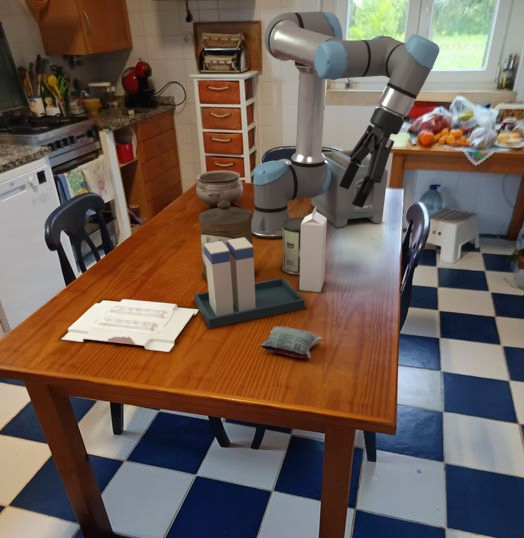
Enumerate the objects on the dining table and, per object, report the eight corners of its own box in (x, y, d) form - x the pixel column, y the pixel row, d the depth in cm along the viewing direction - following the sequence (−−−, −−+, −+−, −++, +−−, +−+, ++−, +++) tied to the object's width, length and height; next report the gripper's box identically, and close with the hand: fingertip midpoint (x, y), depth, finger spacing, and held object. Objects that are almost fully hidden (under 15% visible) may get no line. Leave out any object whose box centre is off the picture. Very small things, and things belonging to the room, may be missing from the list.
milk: (299, 290, 135) (300, 212, 123) (303, 281, 140) (304, 205, 127) (321, 292, 133) (324, 213, 121) (324, 282, 138) (327, 205, 126)
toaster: (339, 232, 172) (343, 172, 161) (310, 204, 199) (311, 152, 188) (387, 226, 176) (394, 167, 164) (352, 200, 203) (356, 148, 191)
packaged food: (274, 335, 115) (274, 317, 113) (322, 345, 111) (323, 327, 108) (259, 354, 109) (258, 336, 106) (309, 366, 105) (310, 347, 102)
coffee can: (317, 262, 151) (319, 217, 143) (314, 276, 142) (315, 229, 134) (285, 260, 152) (285, 216, 145) (279, 274, 144) (279, 228, 136)
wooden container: (195, 281, 141) (187, 206, 129) (217, 262, 152) (211, 191, 140) (243, 288, 136) (239, 211, 124) (261, 268, 148) (259, 195, 136)
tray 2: (102, 300, 133) (100, 288, 131) (199, 312, 128) (198, 300, 126) (60, 339, 116) (56, 326, 114) (170, 355, 111) (168, 342, 109)
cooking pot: (237, 216, 189) (235, 184, 183) (190, 215, 192) (187, 183, 185) (248, 197, 210) (247, 168, 203) (205, 196, 213) (203, 168, 206)
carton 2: (231, 300, 129) (227, 239, 120) (247, 297, 131) (244, 237, 121) (239, 311, 124) (235, 249, 115) (255, 308, 125) (253, 246, 116)
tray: (195, 302, 130) (194, 294, 129) (282, 285, 137) (282, 277, 136) (209, 328, 119) (208, 319, 117) (304, 308, 126) (304, 299, 125)
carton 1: (209, 305, 128) (203, 243, 118) (226, 301, 129) (221, 240, 120) (216, 316, 122) (210, 253, 113) (233, 313, 124) (229, 250, 114)
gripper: (424, 130, 105) (376, 219, 116) (388, 107, 125) (350, 185, 136) (395, 117, 103) (349, 209, 114) (363, 96, 123) (326, 176, 134)
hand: (349, 196), depth 125 cm, fingers open, 13 cm apart
